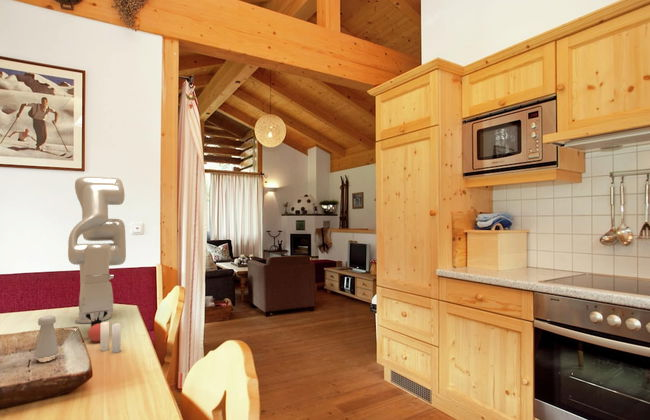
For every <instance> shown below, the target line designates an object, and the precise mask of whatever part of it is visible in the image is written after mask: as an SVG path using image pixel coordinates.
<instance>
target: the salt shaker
mask: <svg viewBox="0 0 650 420" xmlns="http://www.w3.org/2000/svg"><path fill="white" fill-rule="evenodd" d="M55 323H57V319H56V316H55V315H52V314H51V315H49V314H48V315H43V316H40V317H39V318H38V320H37V324H38V326H40V328H39V332H38V337H37V341H36V345H35V350H34V357H37V358H44V357H50V356H53V355H56V354H57V353H58V354H59V346H58V341H57V336H56V332H55V331H56V330H55V326H54V324H55ZM58 354H57V355H58Z"/></svg>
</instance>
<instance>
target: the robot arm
mask: <svg viewBox="0 0 650 420" xmlns="http://www.w3.org/2000/svg"><path fill="white" fill-rule="evenodd" d="M74 190H75V194H76V197H77V200H78V202H79V205H80V206H81V207H80V208H81V212H82V213H81V216H82V218H81V220H80V221H79V222H78V223H76V225H75V226H74V227H73V228H72V230H71V231H70V233H69V236H68V240H67V241H68V242H67V243H68V245H67V246H68V250H67V257H68V261H69V263H70V264H72V265H77V266H78V265H79V275H80V277H79V278H80V280H79V284H80V285H79V286H80V288H79V289H80V291H79V298H78V299H79V300H78V310H79V312H78V316H77V317H76V318H75V323H77V324H90V328H91V327H92V326H93V325H95V324H99V323H102V322H105V321H106V320H110V318H111V317H112V316H111V314H112V313H114V312H115V310H114V294H113V286H112V282H111V281H110V280H112V279H114V274H110V266H120V265H123V264H124V263H125V262H126V258H127V254H126V253H127V251H126V250H127V249H126V248H127V247H126V246H127V245H126V244H127V243H126V242H127V241H126V226H125V223H124V221H123V220H122V219H119V218H109V207H108V206H110V205H112V206H116V205H117V206H120V205H122V204H123V203H124V201H125V197H126V195H125V187H124V185H123V181H122V179H120V178H118V177H117V178H116V177H104V176H103V177H101V176H82V177H79V178H77V179H75V181H74ZM81 235H82V237H83V239H84V240H85V241H88V242H97V243H78V241H79V240H78V239H79V237H80V236H81ZM105 241H106V242H107V241H111V242H112V243H111V242H110V243H105ZM98 242H100V243H98ZM101 242H102V243H101ZM103 242H104V243H103Z"/></svg>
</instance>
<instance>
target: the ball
mask: <svg viewBox="0 0 650 420" xmlns="http://www.w3.org/2000/svg"><path fill="white" fill-rule="evenodd" d="M100 328H101V323H99V324H95V325H93V326H92V327H91V326H90V328H89V329H88V332H87V337H88V338H89V340H91V341H92V342H95V343H97V342H100Z"/></svg>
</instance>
